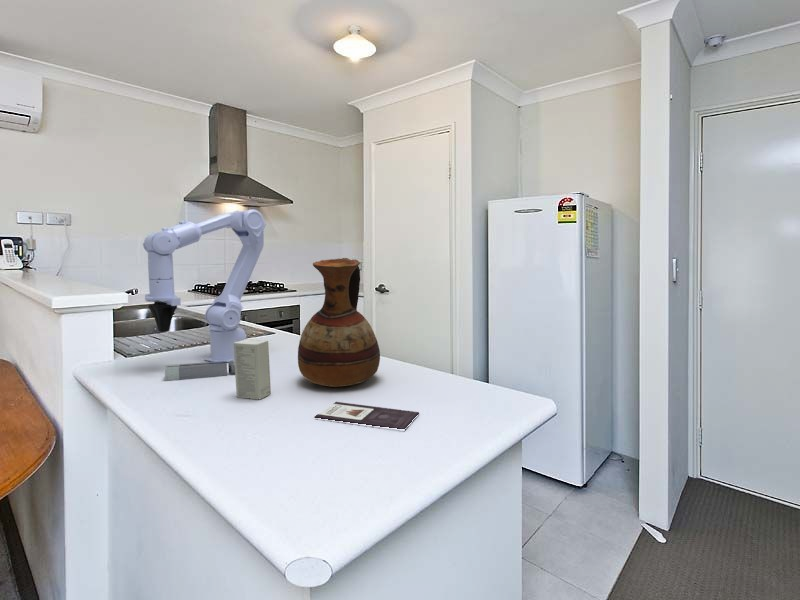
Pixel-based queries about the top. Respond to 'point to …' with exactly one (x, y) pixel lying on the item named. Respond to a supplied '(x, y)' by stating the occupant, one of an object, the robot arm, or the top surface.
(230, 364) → the bar
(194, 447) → the top surface
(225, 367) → the tongs moving leg
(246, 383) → the skincare box
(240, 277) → the robot arm
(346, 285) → the ceramic pitcher
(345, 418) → the chocolate bar
